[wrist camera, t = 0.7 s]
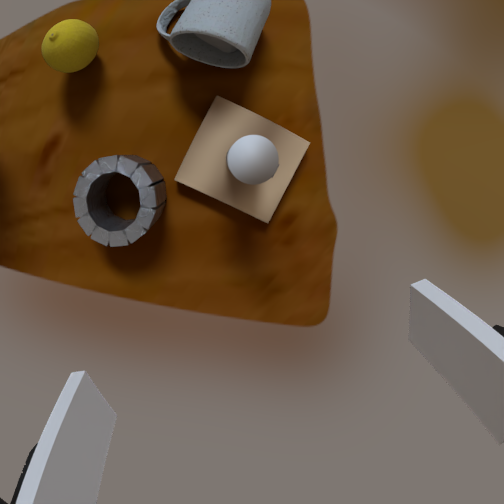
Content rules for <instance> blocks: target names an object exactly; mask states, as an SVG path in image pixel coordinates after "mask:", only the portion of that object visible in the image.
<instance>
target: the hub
mask: <svg viewBox="0 0 504 504" xmlns="http://www.w3.org/2000/svg"><path fill="white" fill-rule="evenodd" d="M118 172H119V173H121V174H123V175H125V176H128V177H130V178H131V180H132V181H133V183H134V184H135V186H136V187H137V188H138V190H139V196H140V205H141V207H140V209H139V212H138V214H137V217H136V219H130V220H125V219H123V218H120V217H118V216H116V215H114V213H113V212H112V210H111V209H110V208H109V206H108V205H107V199H106V189H107V186H108V183H109V181H110V179H111V178H112V177H113V176H114V175H116V174H117V173H118ZM82 175H83V176H79V179H78V182H77V185H76V188H75V191H74V194H73V195H75V196H77V197H75V198H73V201H74V208H75V215H76V217H81V218H80V219H79V220H78V223H79V224H80V226H81V227H82V228H83V230H84V231H85V233H86V234H87V235H88V236H89V235H91V234H92V236H91V239H93V240H95V241H97V242H99V243H101V244H103V245H105V246H108V245H109V244H110V247H115V246H125V245H129V244H130V243H131V244H132V243H133V242H134V241H136V240H137V239H138V238H140V237H141V236H142V235H143V234H145V233H146V232H147V231H148V230H149V229H150V228H151V227H152V226H153V225H154V224H155V223H156V222H157V220H158V219H159V218H160V215H161V213H162V211H163V208H164V206H165V204H166V202H165V200H166V199H167V197H166V187H165V181H163V182H159V181H161V180H162V179H163V176H162V175H161V173H160V172H159V171H158V169H157V168H156V166H155V165H154V164H151V162H150V161H148V160H146V159H143V158H141V157H139V156H136V155H115V156H109V157H104V158H99V160H95V161H94V162H93V163H92V164H91V165H90V166H88V167H87V168H86V169H85V170H84V171H83V172H82Z"/></svg>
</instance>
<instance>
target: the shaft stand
mask: <svg viewBox="0 0 504 504" xmlns="http://www.w3.org/2000/svg"><path fill="white" fill-rule="evenodd" d="M309 144H310V142H308V141H306V140H304V139H303V138H301V137H299V136H297V135H296V134H294V133H292V132H290V131H288V130H286V129H285V128H283V127H281V126H279V125H277V124H275V123H273V122H271V121H269V120H267V119H265V118H263V117H261V116H259V115H257V114H255V113H253V112H251V111H249V110H247V109H245V108H243V107H241V106H239V105H237V104H235V103H233V102H230V101H228V100H226V99H224V98H222V97H219V96H216V98H215V100H214V102H213V103H212V105H211V107H210V109H209V111H208V113H207V114H206V116H205V118H204V120H203V122H202V124H201V126H200V128H199V130H198V132H197V134H196V136H195V138H194V140H193V142H192V144H191V146H190V148H189V150H188V152H187V154H186V156H185V158H184V160H183V162H182V164H181V166H180V169H179V171H178V173H177V175H176V177H175V179H174V180H176V181H178V182H180V183H183V184H185V185H187V186H189V187H191V188H194V189H196V190H198V191H200V192H202V193H204V194H207V195H209V196H211V197H213V198H215V199H217V200H220V201H222V202H224V203H226V204H228V205H230V206H232V207H234V208H237V209H239V210H241V211H243V212H245V213H247V214H249V215H251V216H253V217H255V218H258V219H260V220H262V221H264V222H266V223H269V221H270V219H271V217H272V215H273V213H274V211H275V209H276V207H277V205H278V203H279V201H280V200H281V198H282V196H283V194H284V192H285V190H286V188H287V186H288V184H289V182H290V180H291V178H292V177H293V175H294V173H295V171H296V169H297V167H298V165H299V163H300V161H301V159H302V157H303V155H304V154H305V152H306V150H307V148H308V146H309Z"/></svg>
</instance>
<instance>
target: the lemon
mask: <svg viewBox="0 0 504 504" xmlns="http://www.w3.org/2000/svg"><path fill="white" fill-rule="evenodd" d="M98 47H99V39H98V35H97V33H96V31H95V30H94V28H93V27H91V26H90V25H89V24H88V23H86V22H83V21H80V20H77V19H69V20H65V21H62V22H60V23H58V24H56V25H55V26H53V27H52V28H51V29H50V30H49V31H48V33H47V34H46V36H45V38H44V40H43V43H42V55H43V58H44V60H45V61H46V63H47V64H48V65H49V66H50V67H52V68H53V69H55V70H57V71H60V72H64V73H70V72H76V71H79V70H81V69H83V68H85V67H86V66H87V65H88V64H90V63H91V61H92V60H93V59H94V57H95V56H96V54H97V51H98Z"/></svg>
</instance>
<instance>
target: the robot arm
mask: <svg viewBox="0 0 504 504" xmlns="http://www.w3.org/2000/svg"><path fill="white" fill-rule="evenodd" d="M410 286H411V287H410V320H409V338H408V340H409V341H410V342H411V343H412V344H413V345H414V346H415V348H416V349H417V350H418V351H419V352H420V353H421V354H422V355H423V356H424V357H425V359H426V360H427V361H428V362H429V363H430V364H431V365H432V366H433V367H434V368H435V370H436V371H437V372H438V373H439V374H440V375H441V376H442V378H443V379H444V380H445V381H446V382H447V383H448V384H449V385H450V386H451V388H452V389H453V390H454V391H455V392H456V394H457V395H458V396H459V397H460V398H461V399H462V401H463V402H464V403H465V404H466V405H467V406H468V408H469V409H470V410H471V411H472V412H473V414H474V415H475V416H476V417H477V418H478V420H479V421H480V422H481V423H482V424H483V426H484V427H485V428H486V429H487V431H488V432H489V433H490V434H491V436H492V437H493V438H494V439H495V441H496V442H497V443H498V444H499V445H500V444H502V443H503V442H504V327H501V326H499V325H495V326H494V327H490V326H489V325H487V324H486V323H485V322H484V321H483V320H481V319H480V318H479V317H477V316H476V315H475V314H473V313H472V312H471V311H469V310H468V309H467V308H465V307H464V306H463V305H461V304H460V303H458V302H457V301H456V300H454V299H453V298H452V297H450V296H449V295H448V294H446V293H445V292H443V291H442V290H441V289H439V288H438V287H436V286H435V285H433V284H432V283H430V282H429V281H428V280H426V279H424V280H421V281H419V282H416V283H414V284H411V285H410ZM116 418H117V415H116V413H115V412H114V411H113V409H112V408H111V407H110V405H109V404H108V403H107V401H106V400H105V399H104V397H103V396H102V395H101V393H100V392H99V390H98V389H97V387H96V386H95V384H94V383H93V381H92V380H91V378H90V377H89V375H88V374H87V372H86V371H79V372H72V373H71V375H70V377H69V379H68V381H67V383H66V384H65V386H64V388H63V390H62V393H61V394H60V397H59V398H58V401H57V403H56V405H55V407H54V409H53V411H52V413H51V415H50V418H49V420H48V422H47V424H46V426H45V428H44V431H43V433H42V435H41V438H40V440H39V442H38V443H37V444H36V445H35V446H34V448H33V449H32V450H31V451H30V453H29V456H28V458H27V460H26V465H24V468H23V470H22V471H23V473H21V476H20V478H19V481H18V484H17V487H16V489H15V492H14V495H13V498H12V501H11V503H10V504H96V503H97V498H98V493H99V488H100V483H101V478H102V474H103V469H104V465H105V461H106V457H107V453H108V448H109V444H110V440H111V436H112V433H113V429H114V425H115V422H116ZM0 504H8V503H6V502H5V501H4V500H3V499H1V498H0Z"/></svg>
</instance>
